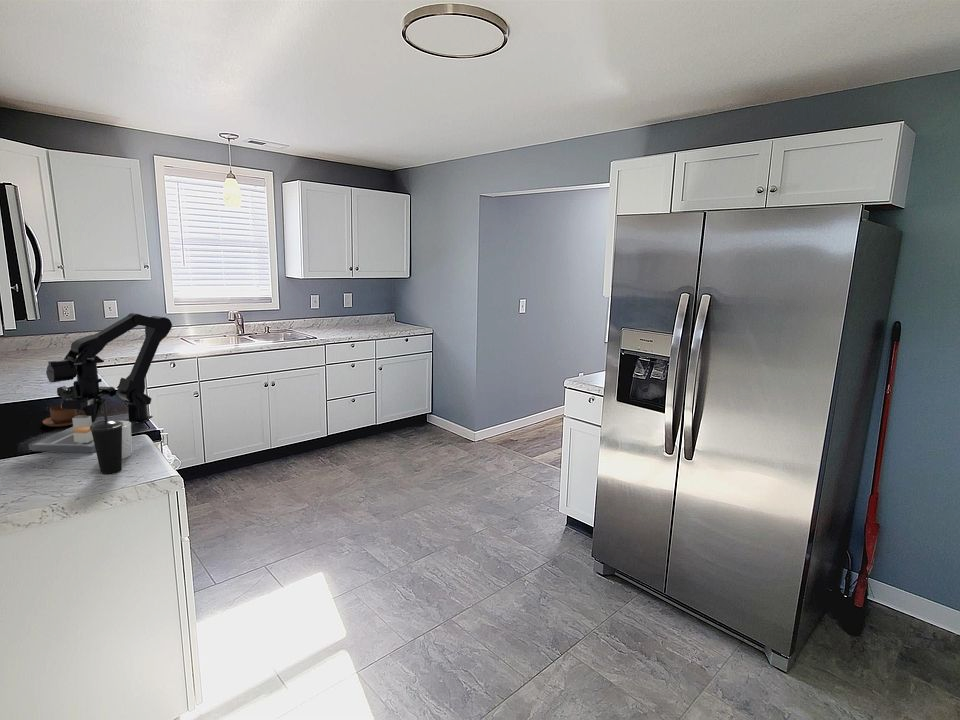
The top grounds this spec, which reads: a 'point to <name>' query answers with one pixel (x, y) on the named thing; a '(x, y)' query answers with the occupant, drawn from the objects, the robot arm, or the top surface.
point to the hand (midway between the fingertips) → (92, 421)
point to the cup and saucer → (61, 416)
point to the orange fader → (82, 435)
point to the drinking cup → (108, 444)
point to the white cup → (126, 439)
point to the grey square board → (63, 443)
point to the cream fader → (81, 421)
